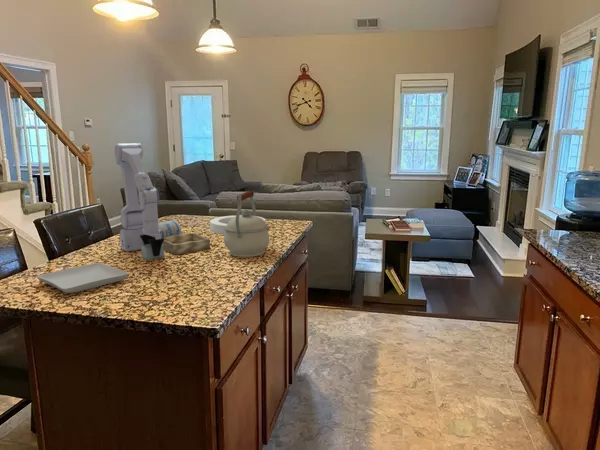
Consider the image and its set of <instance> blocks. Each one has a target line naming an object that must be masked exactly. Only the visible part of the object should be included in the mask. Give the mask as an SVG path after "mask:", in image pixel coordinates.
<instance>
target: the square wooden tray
mask: <svg viewBox="0 0 600 450" xmlns="http://www.w3.org/2000/svg"><path fill="white" fill-rule="evenodd" d="M163 238H164V241H163V243H162V245H163V246H164V251H166V252H167V253H170V254H172V255H173V256H176V255H181V254H182V255H183V254H186V253H187V254H188V253H193V252H200V251H205V250H209V249H211V239H210V238H207V237H204V236H202V235H199V234H197V233H195V232H191V233H182V234H181V235H176V236H170V237H163Z"/></svg>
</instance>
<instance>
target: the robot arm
mask: <svg viewBox="0 0 600 450" xmlns="http://www.w3.org/2000/svg"><path fill="white" fill-rule="evenodd" d="M114 156H115V162H116V164H117V165H118V166H120V169H121V174H122V183H123V188H124V189H123V190H124V195H125V196H124V197H125V206H123V208H122V209H120V217H119V218H120V224H121V226H122V227H123V229H120V231H119V238H120V249H122V250H124V251H125V252H131V251H132V252H133V251H136V250H137V251H138V250H139V251H140V250H142V249H141V245H146V244H151V247H152V252H153V255H154V257H155V256H159V255H160V250H161V246H162V243H163V241H164V238H161V234H160V232H162V230H159V225H158V223H159V214H158V213H159V211H158V204H159V203H160V194H159V193H160V192H159V191H158V189H157V188H156V187H155V186H153V183H152V181H151V177H150V176H149V174H147V173H145V169H144V166H143V162H142V159H143V156H144V149H143V145H142V144H141V143H140V142H136V143H134V142H133V143H119V142H118V143H116V144H115V146H114Z"/></svg>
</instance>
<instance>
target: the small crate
mask: <svg viewBox="0 0 600 450" xmlns="http://www.w3.org/2000/svg"><path fill="white" fill-rule="evenodd" d="M140 250H141V258H142V259H144V260H145V259H146V260H145V261H152V260H156V258H157V259H162V257H163V258H165V250H164V246H163V245H162V246H161V250H160V255H159V256H155V257H154V255H153V252H152V247H151V244H146V245H141V249H140Z"/></svg>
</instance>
